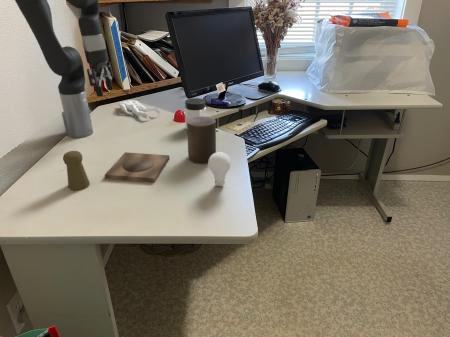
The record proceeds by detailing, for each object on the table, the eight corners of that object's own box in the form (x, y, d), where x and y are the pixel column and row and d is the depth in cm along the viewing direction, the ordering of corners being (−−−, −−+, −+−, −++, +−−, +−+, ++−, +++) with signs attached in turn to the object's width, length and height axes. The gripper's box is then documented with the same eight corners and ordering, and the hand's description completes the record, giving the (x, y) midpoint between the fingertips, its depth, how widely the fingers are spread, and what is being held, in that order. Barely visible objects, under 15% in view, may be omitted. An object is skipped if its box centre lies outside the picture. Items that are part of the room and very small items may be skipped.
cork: (82, 191, 100) (75, 158, 95) (64, 189, 101) (55, 156, 96) (93, 181, 105) (86, 149, 100) (76, 179, 106) (68, 147, 101)
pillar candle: (210, 165, 115) (210, 123, 108) (183, 161, 117) (181, 120, 110) (219, 154, 123) (219, 114, 116) (194, 150, 125) (193, 111, 118)
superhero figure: (163, 118, 158) (129, 108, 172) (163, 105, 156) (128, 96, 170) (143, 122, 150) (109, 111, 163) (143, 109, 148) (108, 99, 161)
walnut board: (105, 178, 107) (104, 173, 106) (125, 156, 121) (125, 151, 120) (154, 182, 105) (154, 177, 104) (169, 159, 119) (169, 154, 118)
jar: (209, 130, 142) (208, 102, 136) (190, 134, 139) (189, 105, 133) (201, 123, 149) (200, 96, 143) (183, 126, 146) (181, 99, 140)
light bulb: (208, 180, 106) (207, 148, 101) (229, 179, 106) (229, 147, 101) (209, 192, 100) (208, 158, 95) (231, 191, 101) (232, 157, 95)
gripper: (94, 45, 128) (104, 88, 136) (74, 52, 116) (87, 99, 124) (113, 44, 127) (122, 87, 135) (95, 51, 115) (106, 98, 122)
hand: (105, 93), depth 129 cm, fingers open, 8 cm apart
